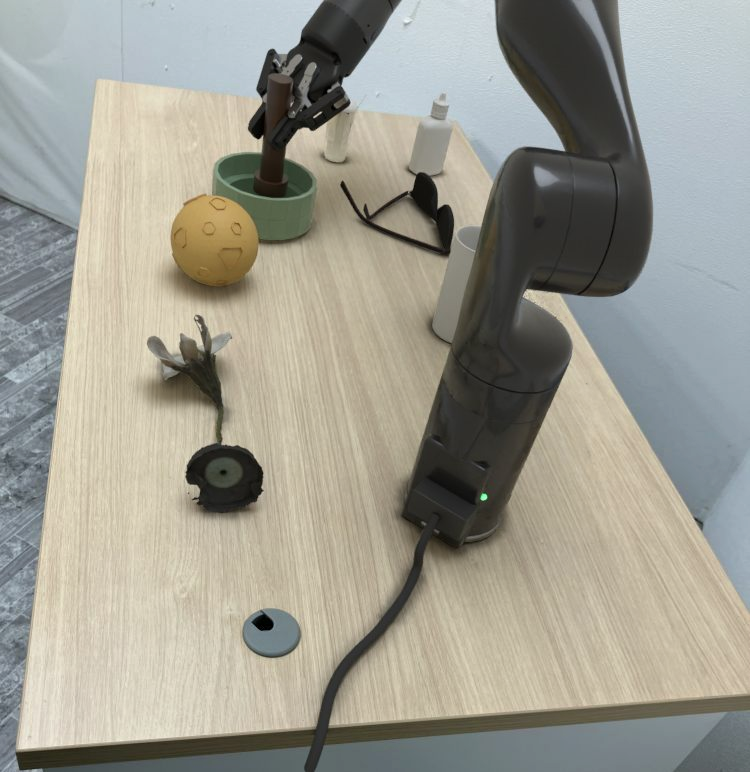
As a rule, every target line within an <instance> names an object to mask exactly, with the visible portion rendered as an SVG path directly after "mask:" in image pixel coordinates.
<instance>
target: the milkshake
mask: <svg viewBox="0 0 750 772" xmlns="http://www.w3.org/2000/svg"><path fill="white" fill-rule="evenodd" d="M366 96H367V94H365V95H364V96H363V98H362V99H361V101H360V103H359V104H358V103H357V102H356V100H355V99H353V98H352V97H350V96H348V98H349V99H350V101H351V103H350V105H349V106H348V107H347V108H346V109H344V110H343V111H342V112H340V113H339V114H337V115H336V116H335V117H333V118H332V119H330V120H329V121H328V122H326V126H325V127H326V128H325V137H324V138H325V139H324V140H325V141H324V150H323V151H324V152H323V156H324V158H325V160H328V161H330V162H332V163H343V162H344V161H345V160H346V158H347V153H348V149H349V146H350V141H351V138H352V132H353V129H354V124H355V121H356V117H357V113H358V109H359V107H360V106H361V104H362V102H363V101H364V99H365V98H366Z"/></svg>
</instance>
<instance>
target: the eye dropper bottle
mask: <svg viewBox="0 0 750 772" xmlns="http://www.w3.org/2000/svg"><path fill="white" fill-rule="evenodd" d="M446 99H447V92H445V91H441V92H440V94H439V97H438V98H436V99H434V100H433V101H432V106H431V109H430V115H428V116H426V117H424V118H422V119H421V120H420V121H419V123H418V125H417V130H416V134H415V137H414V141H413V147H412V152H411V156H410V161H409V164H408V169H409V170H410V171H411V172H412V173H413V174H415V175H417V174H418V173H419V172H424V173H426V174H427V175H429V176H430V177H432V176H436V175H438V174H441V173H442V172H443V169H444V165H445V161H446V157H447V153H448V149H449V145H450V141H451V137H452V133H453V129H454V128H453V123H452V121H451V120H450V119H448V118H447V116H448V111H449V107H450V103H449V102H448V101H447V100H446Z"/></svg>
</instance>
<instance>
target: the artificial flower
mask: <svg viewBox="0 0 750 772" xmlns="http://www.w3.org/2000/svg"><path fill="white" fill-rule="evenodd" d="M196 318H197V319H196ZM193 320H194V323H196V326H197V328H198V332H199V334H200V338H201V342H202V345H199V346H197V345H198V344H197V341H196V340H195V339H193V338H191V337H189V336H186V335H185V334H184V333H183V332H181V333H179V340H180V341H179V344H178V348H179V351H180V353H181V354H178V355H176V356H172V355H171V353H170V352H169V350H168V349H167V347H166V345H165V343H164V341H162V339H161V338H160V337H159V336H157V335H151V336H149V337H148V338H147V339H146V346H147V349H148V350H149V352H151V353H152V354H153V355H154V357H155V358H157V359H159V360H160V362H161V364H162V370H163V372H162V377H163V379H164V381H167V380H169V379H170V378H172V377H175V376H176V375H178V374H179V373H181V374H184V375H185V376H187V377H188V378H189V379H190V380H191V381H192V382H193V383H194V385H195V386H197V387H198V389H199V390H200V391H201V393H203V394H204V395H205V396H206V397H207V398H208V399H211V401H212V402H213V403H214V404H215V406H217V408H218V415H217V420H216V426H215V435H216V436H215V437H216V443H212V444H207V445H205V446H201V448H199V449H198V450H196V451H195V452H194V454H192V456H191V458H190V459H189V461H188V462H187V463H186V471H185V472H184V473H185V476H184V477H185V480H186V483H187V484H188V485H190V486H196V487H198V490H199V493H198V496H197V497H196V496H194V497H193V498H191V501H196V500H197V501H196V505H197V506H199V507H201V506H202V507H203V509H205V510H206V511H209V512H214V513H215V512H217V513H221V514H222V513H228V512H230V511H232V510H237V509H238V510H239V509H242V508H245V507H246V506H249V505H250V504H252V503H253V504H256V503H257V502H258V499H259V498H260V497H259V496H261V495H262V493H263V492H264V489H263V488H262V486H263V483H264V470H263V466H261V465H260V463H259V462H258V460H257V458H256V457H255V456H254V454H253V453H252V452H251V451H250V450H249V449H247V448H246V447H242V446H240V445H238V444H235V445H228V444H226V443H225V444H222V443H223V440H224V438H223V434H222V428H223V427H222V426H223V425H222V424H223V418H224V413H225V410H224V409H225V407H224V404H223V397H222V383H221V381H220V378H219V375H218V371H217V367H216V362H217V355H216V353H217V352H219V351H220V350H222V349H223V348H225V347H226V346H227V345H228V343H229V341H230V340H231V339H233V336H232V332H230V331H229V332H226V333H219V334H217V335H215V336H214V337H212V336H211V334H210V331H209V327H208V326H207V324H206V321H205V318H204V317H203V316H202V315H201V314H194V316H193ZM199 325H200V326H199ZM171 478H172V477H169V479H171ZM187 495H190V492H187Z"/></svg>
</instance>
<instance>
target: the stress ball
mask: <svg viewBox="0 0 750 772" xmlns="http://www.w3.org/2000/svg"><path fill="white" fill-rule="evenodd" d="M182 205H183V207H182V208H181V209H180V210H179V212H177V214H176V216H175V217H174V220H173V222H172V226H171V229H170V237H169V238H170V248H171V251H172V253H171V255H172V258H173V261H174V262H175V264H176V266H177V268H179V269H180V270H181V271H183V272H184V273H185V274H186V275H187V276H188V277H189V278H190V279H192V280H194V281H196V282H198V283H200V284H201V285H204V286H205V285H206V286H210V287H224V286H229V285H231V284H235V283H237V282H238V281H240V280H241V279H243V278H244V277H245V276H246V275H247V274H248V273H249V272H250V270H251V269H252V268H253V267H254V264H255V262H256V259H257V257H258V252H259V242H260V241H259V240H260V239H258V233H257V230H256V227H255V224H254V222H253V220H252V219H251V217H250V215H249V214H248V213H247V212H246V211H245V210H244V209H243V208H242V207H241V206H240V205H239V204H237V203H236V202H234V201H232V200H230V199H228V198H225V197H221V196H212V195H207V193H202V194H199V195H197V196H195V197H193V198H191V199H188V200H186V201H185V202H183V203H182Z"/></svg>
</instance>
